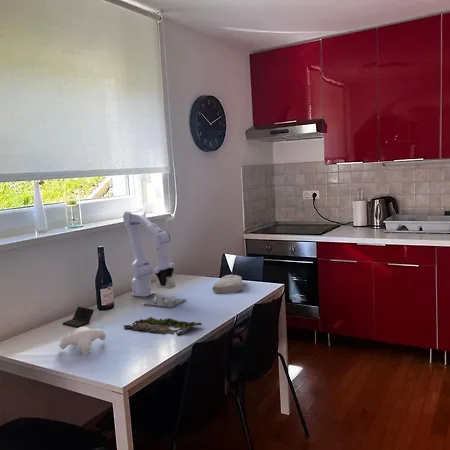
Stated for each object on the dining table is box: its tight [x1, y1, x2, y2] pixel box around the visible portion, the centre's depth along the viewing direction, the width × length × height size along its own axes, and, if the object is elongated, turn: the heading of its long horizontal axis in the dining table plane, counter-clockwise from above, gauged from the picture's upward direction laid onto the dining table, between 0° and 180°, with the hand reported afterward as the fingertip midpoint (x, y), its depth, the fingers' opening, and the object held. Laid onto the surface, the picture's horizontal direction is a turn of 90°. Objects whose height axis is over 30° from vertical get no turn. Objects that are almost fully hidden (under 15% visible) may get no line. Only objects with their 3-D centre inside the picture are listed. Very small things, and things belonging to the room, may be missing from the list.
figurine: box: [58, 326, 107, 355], centre depth 175 cm, size 17×9×18 cm
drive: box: [155, 275, 176, 290], centre depth 227 cm, size 8×4×6 cm, turn 62°
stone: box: [212, 274, 244, 294], centre depth 246 cm, size 21×15×5 cm
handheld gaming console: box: [62, 306, 95, 329], centre depth 205 cm, size 12×7×10 cm
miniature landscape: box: [122, 316, 203, 336], centre depth 190 cm, size 32×12×3 cm, turn 64°
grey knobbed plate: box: [143, 294, 187, 309], centre depth 225 cm, size 16×12×3 cm
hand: (165, 284), depth 227 cm, fingers closed on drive, 4 cm apart
